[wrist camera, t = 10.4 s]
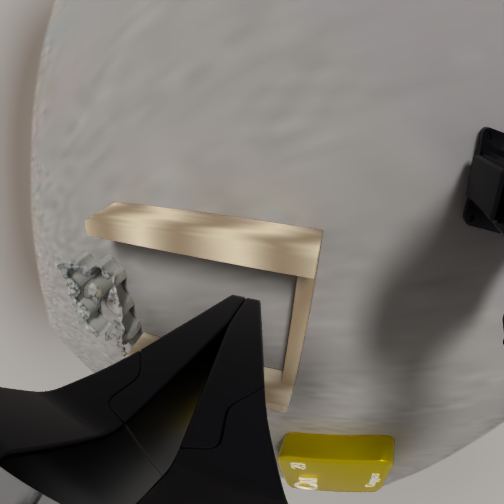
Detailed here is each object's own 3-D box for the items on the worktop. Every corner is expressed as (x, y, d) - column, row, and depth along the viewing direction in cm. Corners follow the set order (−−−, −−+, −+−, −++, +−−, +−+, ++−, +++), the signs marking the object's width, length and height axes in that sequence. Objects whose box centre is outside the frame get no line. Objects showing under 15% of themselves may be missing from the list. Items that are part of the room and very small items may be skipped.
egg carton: (146, 336, 32) (128, 361, 29) (99, 317, 34) (80, 338, 31) (128, 257, 27) (101, 281, 23) (76, 243, 28) (50, 263, 25)
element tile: (381, 470, 36) (378, 494, 32) (293, 466, 41) (287, 490, 37) (397, 431, 29) (395, 464, 25) (282, 428, 35) (273, 458, 31)
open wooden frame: (323, 230, 20) (316, 260, 16) (295, 380, 28) (286, 413, 25) (115, 202, 24) (84, 221, 20) (146, 339, 32) (127, 363, 29)
